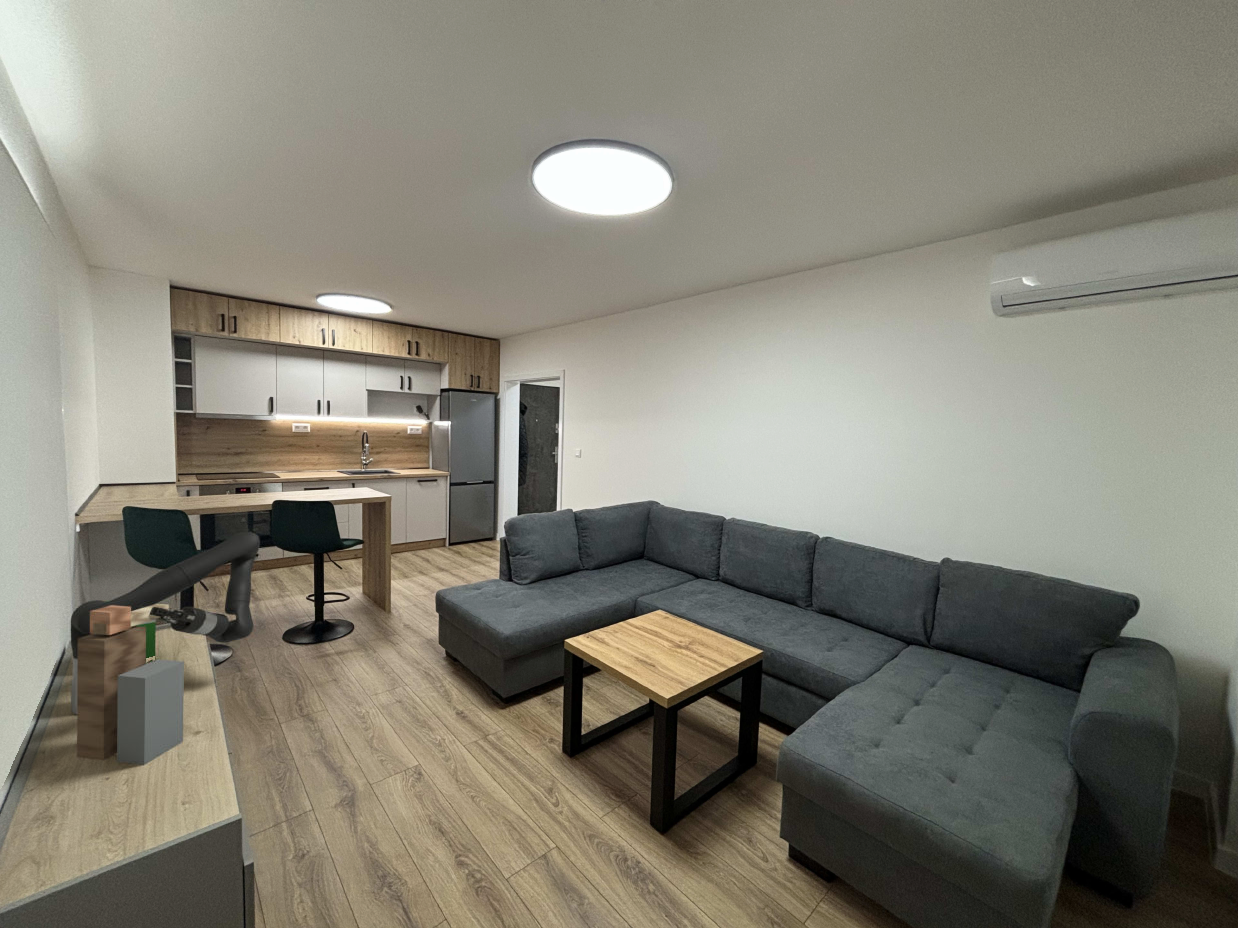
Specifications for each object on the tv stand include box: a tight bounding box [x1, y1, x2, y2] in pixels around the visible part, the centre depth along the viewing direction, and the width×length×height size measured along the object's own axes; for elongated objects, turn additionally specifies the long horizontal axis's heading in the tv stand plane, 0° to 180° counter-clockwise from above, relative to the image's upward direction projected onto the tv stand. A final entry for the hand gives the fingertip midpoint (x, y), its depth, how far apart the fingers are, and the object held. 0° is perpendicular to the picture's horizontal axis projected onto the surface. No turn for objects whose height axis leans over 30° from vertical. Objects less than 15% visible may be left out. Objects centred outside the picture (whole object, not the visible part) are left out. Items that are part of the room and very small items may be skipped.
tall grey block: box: [116, 658, 185, 765], centre depth 129 cm, size 10×8×23 cm
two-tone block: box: [90, 603, 170, 635], centre depth 135 cm, size 16×6×6 cm, turn 174°
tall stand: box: [76, 626, 147, 761], centre depth 130 cm, size 10×8×32 cm
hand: (145, 609), depth 138 cm, fingers closed on two-tone block, 4 cm apart
